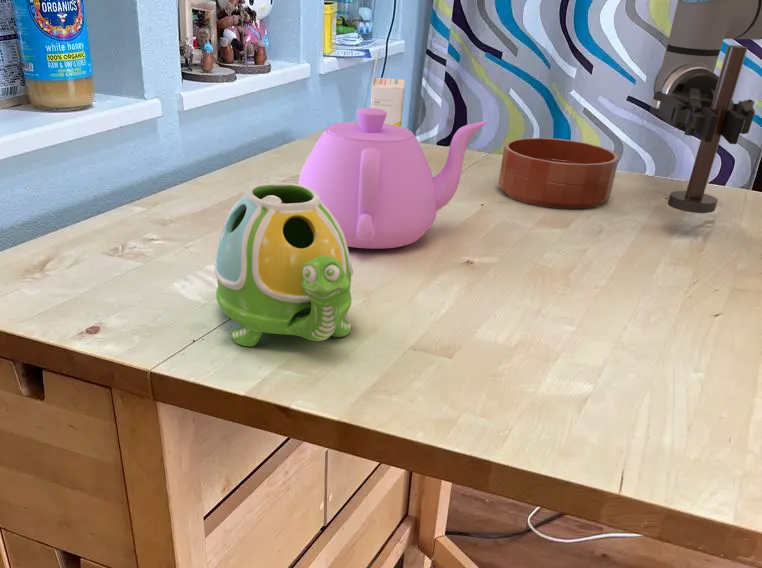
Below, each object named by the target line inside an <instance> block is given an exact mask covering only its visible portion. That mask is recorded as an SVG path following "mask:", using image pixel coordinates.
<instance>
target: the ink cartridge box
mask: <svg viewBox="0 0 762 568" xmlns="http://www.w3.org/2000/svg"><path fill="white" fill-rule="evenodd" d="M378 60H379V55H378V54H377V55H376V57H375V61H374V67H373V73H372V82H371V92H370V105H369V106H370V107H369V108H375V109H381V110H384V111H385V112H387V115H386V119H385V121H384V123H383V124H390V125H395V126H399V127H402V122H403V113H404V102H405V101H404V100H405V92H406V91H405V87H406V81H405V79H403V78H387V77H386V78H385V77H376V72H377V65H378Z"/></svg>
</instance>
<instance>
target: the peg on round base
mask: <svg viewBox="0 0 762 568" xmlns="http://www.w3.org/2000/svg"><path fill="white" fill-rule="evenodd" d="M747 51H748V46H744V45H734V44H730V45H727V48H726V51H725V56H724V58H723V61H722V64H721V69H720V72H719V76H718V77H719V79H718V82H717V86H716V89H715V93H714V96H713V100H712V103H711V107H710V109H711V110H712V111H713V112H714V113H715V114H716V115H717V116H718V120H717V124H716V127H715V131H714V134H713V137H712V141H711V142H705V141H704V140H703V139H702V138H701V137H700V138H701V139H700V142H699V146H698V149H697V152H696V156H695V160H694V162H693V166H692V170H691V174H690V177H689V180H688V184H687V188H686V190H674V191H671V192H670V193H669V196H668V200H667V205H668V206H669V207H671V208H673V209H676V210H679V211H683V212H687V213H696V214H708V213H713V212H715V211H716V208H717V205H718V202H719V200H718V198H717V197H716V196H712V195H710V194H707V193H705V192H706V189H707V185H708V182H709V178H710V175H711V172H712V169H713V165H714V162H715V158H716V156H717V155H716V154H717V151H718V149H719V145H720V142H721V138H722V132H723V128H724V125H725V122H726V118H727V115H728V112H729V108H730V105H731V102H732V100H733V98H734V95H735V92H736V89H737V85H738V81H739V78H740V75H741V72H742V68H743V64H744V61H745V58H746V54H747Z"/></svg>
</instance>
